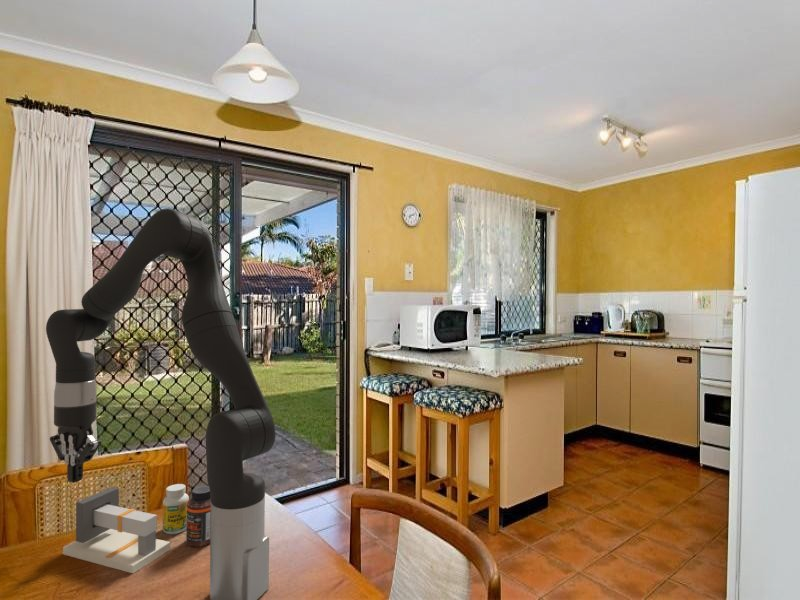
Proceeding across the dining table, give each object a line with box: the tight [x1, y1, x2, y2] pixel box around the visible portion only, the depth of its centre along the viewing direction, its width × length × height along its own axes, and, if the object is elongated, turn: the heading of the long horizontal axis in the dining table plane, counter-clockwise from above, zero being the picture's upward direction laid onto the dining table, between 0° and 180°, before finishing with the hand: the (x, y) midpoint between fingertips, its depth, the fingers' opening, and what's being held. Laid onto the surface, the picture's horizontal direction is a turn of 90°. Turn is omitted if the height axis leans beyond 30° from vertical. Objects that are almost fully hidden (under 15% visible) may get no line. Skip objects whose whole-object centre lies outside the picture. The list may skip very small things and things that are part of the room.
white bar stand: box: [62, 504, 171, 574], centre depth 96 cm, size 19×9×9 cm, turn 71°
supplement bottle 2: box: [185, 485, 211, 547], centre depth 101 cm, size 6×6×11 cm
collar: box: [75, 486, 120, 543], centre depth 98 cm, size 2×8×8 cm, turn 161°
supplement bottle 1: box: [162, 483, 190, 535], centre depth 105 cm, size 5×5×10 cm
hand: (74, 480), depth 100 cm, fingers closed
